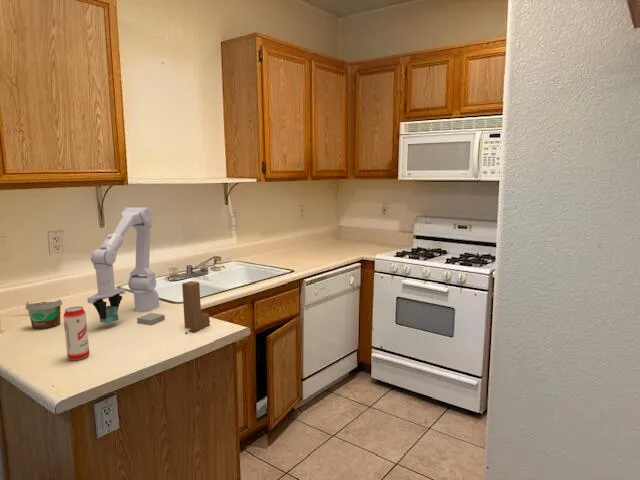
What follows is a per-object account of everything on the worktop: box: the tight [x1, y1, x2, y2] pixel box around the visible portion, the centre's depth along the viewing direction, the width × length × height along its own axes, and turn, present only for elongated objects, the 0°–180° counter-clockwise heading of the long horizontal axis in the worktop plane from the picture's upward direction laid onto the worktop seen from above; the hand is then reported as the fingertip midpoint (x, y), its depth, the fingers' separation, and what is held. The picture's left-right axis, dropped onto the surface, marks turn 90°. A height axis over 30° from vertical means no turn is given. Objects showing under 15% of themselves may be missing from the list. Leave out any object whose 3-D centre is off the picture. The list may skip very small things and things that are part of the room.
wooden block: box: [181, 280, 211, 333], centre depth 168 cm, size 9×4×18 cm, turn 155°
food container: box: [25, 299, 63, 331], centre depth 172 cm, size 12×6×10 cm, turn 105°
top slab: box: [136, 312, 166, 326], centre depth 174 cm, size 7×7×2 cm
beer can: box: [63, 306, 90, 362], centre depth 143 cm, size 6×6×16 cm
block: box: [99, 305, 119, 324], centre depth 168 cm, size 4×4×5 cm
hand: (108, 316), depth 169 cm, fingers closed on block, 4 cm apart
